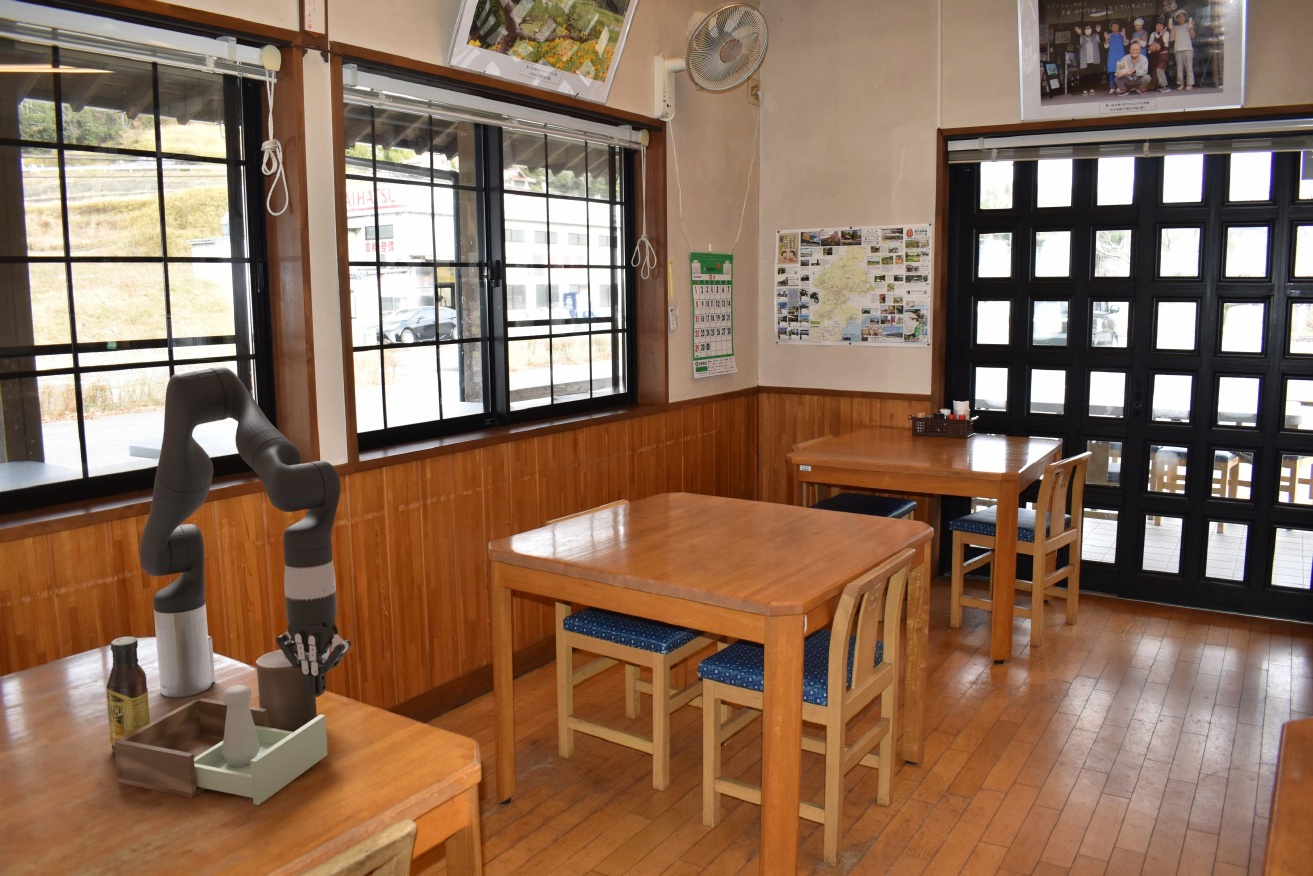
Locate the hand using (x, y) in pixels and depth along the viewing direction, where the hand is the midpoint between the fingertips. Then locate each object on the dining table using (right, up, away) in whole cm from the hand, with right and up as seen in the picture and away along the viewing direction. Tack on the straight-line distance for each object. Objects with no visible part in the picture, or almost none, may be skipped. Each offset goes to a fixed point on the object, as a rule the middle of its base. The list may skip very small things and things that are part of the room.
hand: (316, 694), depth 155 cm
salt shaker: (-15, -13, +7) cm, 21 cm away
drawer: (-12, -14, +6) cm, 20 cm away
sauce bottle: (-38, -14, +16) cm, 43 cm away
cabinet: (-24, -14, +10) cm, 30 cm away
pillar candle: (-13, -13, +24) cm, 30 cm away
